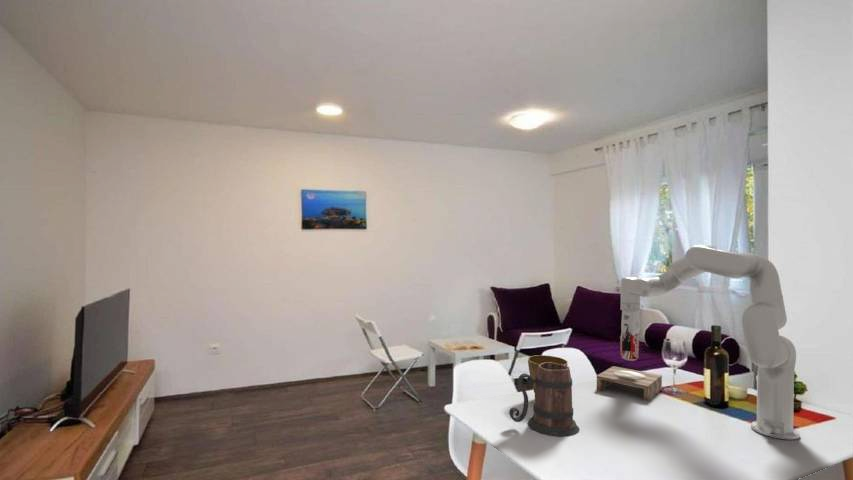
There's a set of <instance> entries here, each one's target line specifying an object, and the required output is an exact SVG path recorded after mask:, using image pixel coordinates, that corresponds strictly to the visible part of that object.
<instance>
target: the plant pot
mask: <svg viewBox="0 0 853 480" xmlns="http://www.w3.org/2000/svg"><path fill="white" fill-rule="evenodd" d="M544 362H553V363H557V364H562V365H566V366H568V364H569V363H568V362H569V361H568V360H567V359H565V358H562V357H558V356H553V355H543V354H540V355H539V354H538V355H537V354H536V355H531V356H529V357H527V364H528V365H527V366H528V372H529V376H531V377H532V378H533V380H535V376H536V374H537V369H538V365H539V364H541V363H544ZM535 384H536V383H534V385H533V386H532V387H531V388H532V390H533V393H534V394H535Z"/></svg>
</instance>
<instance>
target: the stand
mask: <svg viewBox="0 0 853 480" xmlns="http://www.w3.org/2000/svg"><path fill="white" fill-rule="evenodd" d="M662 377H663V375H662V374H658V373H657V374H656V373H653V372H647V371H641V370H635V369H631V368H625V367H620V366H613V365H612V366H610V367H609V368H607V369H605V370H604V371H602V372H600V373H599V374H597V375H596V391H600V392H601V391H602V390H604V389H605V388H607V387H609V386H610V385H611V384H613V383H617V384H621V385H627V386H630V387H635V388H641V389H643V401H644V402H650V400H652V399H653V398H654V397H655V396H656V395H657V394H658V393H660V392H661V391H662V386H663V378H662Z"/></svg>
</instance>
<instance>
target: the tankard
mask: <svg viewBox="0 0 853 480" xmlns="http://www.w3.org/2000/svg"><path fill="white" fill-rule="evenodd" d="M570 370H571V369H570V367H569V366H568V365H567V366H566V365H562V364H557V363H553V362H544V363H541V364H539V365H538V369H537V374H536V376H535V380H533V378H532V377H531V376H530V374H528V373H526V372H524V373H522V374H520V375H519V376H518V378H517V382H518V387H519V388H520V390H521V392H522V395H523V408H522V411H521V413H520V410H519V409H518V407H513V406H512V407H510V409H509V412H508V413H509V417H510V418H511V420H513V421H514V422H515V423H520V422H522V421H524V419H526V416H527V414H528V410H529V397H528V393H527V391H526V389H525V387H524V384H523V382H524V381H523V380H524V379H525V378H526V382H527V384H526V388H527V390H529V389H531V388H533V387H532V386H533V385H534V383H536V384H535V393H534V403H533V405H532V411H533V415H531V417H530V419H528V421H527V423H526V424H527V427H528V428H529V429H530V430H531V431H534V432H535V433H537V434H540V435H544V436H547V437H548V436H549V437H555V438H556V437H557V438H568V437H572V436H575V435H577V434H579V432H580V430H581V429H580V427H579V426H578V425H577V423H576V420H574V417H573V416H574V407H573V392H572V391H573V390H572V389H573V387H572V386H573V378H572V376H571V375H572V374H571V371H570ZM515 412H516V413H515Z"/></svg>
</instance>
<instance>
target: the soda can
mask: <svg viewBox="0 0 853 480" xmlns="http://www.w3.org/2000/svg"><path fill="white" fill-rule="evenodd" d="M628 334H629V333H628ZM639 335H640V334H639V333H637V334H635V335H632V334H631V338H630V341H631V351H624V350H622V342H623V341H622V339H623V335H622V332H621V333H620V346H619V347H620V348H619V349H620V350H619V351H620V358H622V359H623V360H625V361H631V362H633V361H637V360H638V359H639V356H640V355H639V354H640V353H639V352H640V336H639ZM628 337H629V336H628Z"/></svg>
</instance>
